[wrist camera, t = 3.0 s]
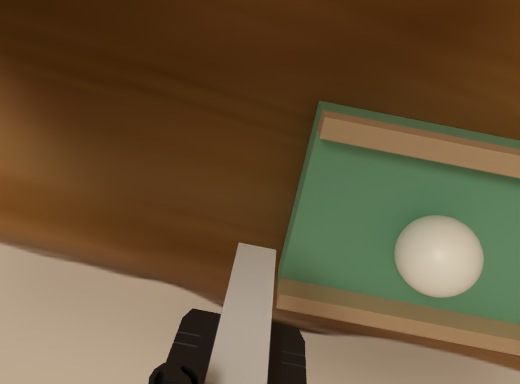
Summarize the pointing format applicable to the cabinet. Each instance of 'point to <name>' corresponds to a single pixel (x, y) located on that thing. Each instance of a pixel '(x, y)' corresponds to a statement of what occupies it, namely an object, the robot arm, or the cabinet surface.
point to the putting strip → (402, 225)
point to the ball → (439, 256)
